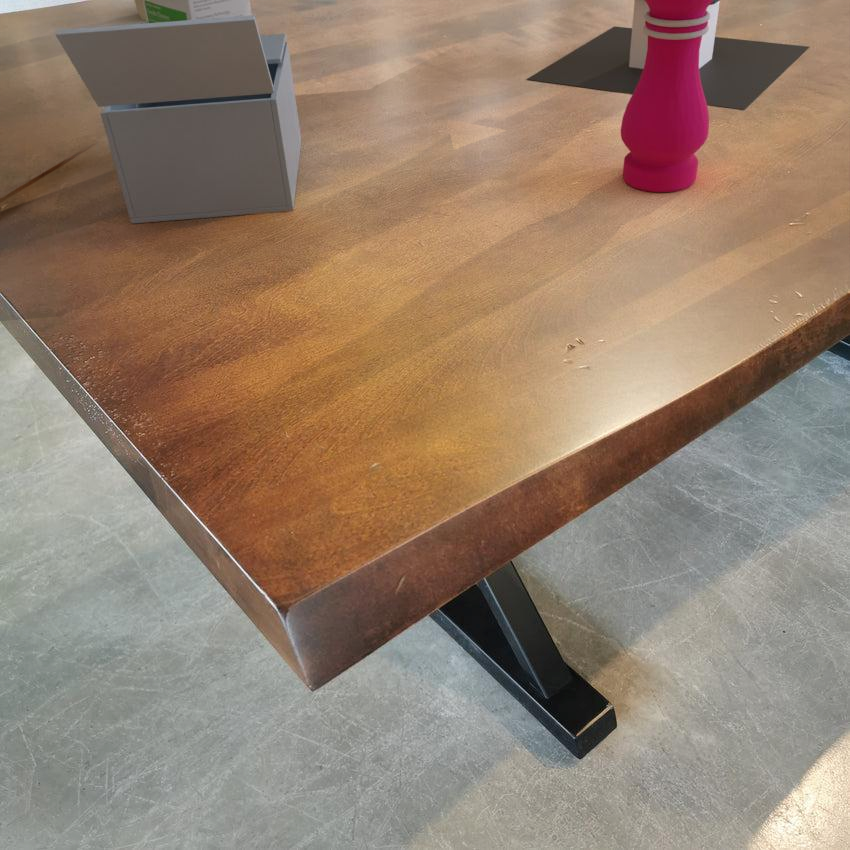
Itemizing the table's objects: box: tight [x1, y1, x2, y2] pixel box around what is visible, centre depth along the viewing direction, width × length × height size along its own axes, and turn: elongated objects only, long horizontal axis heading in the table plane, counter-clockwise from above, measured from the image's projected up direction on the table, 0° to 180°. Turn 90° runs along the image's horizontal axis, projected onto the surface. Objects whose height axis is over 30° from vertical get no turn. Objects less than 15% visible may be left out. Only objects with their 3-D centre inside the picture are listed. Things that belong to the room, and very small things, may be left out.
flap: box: [55, 14, 274, 108], centre depth 66 cm, size 8×14×1 cm
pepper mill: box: [620, 0, 713, 193], centre depth 71 cm, size 7×7×20 cm
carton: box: [100, 33, 302, 224], centre depth 80 cm, size 17×14×10 cm
